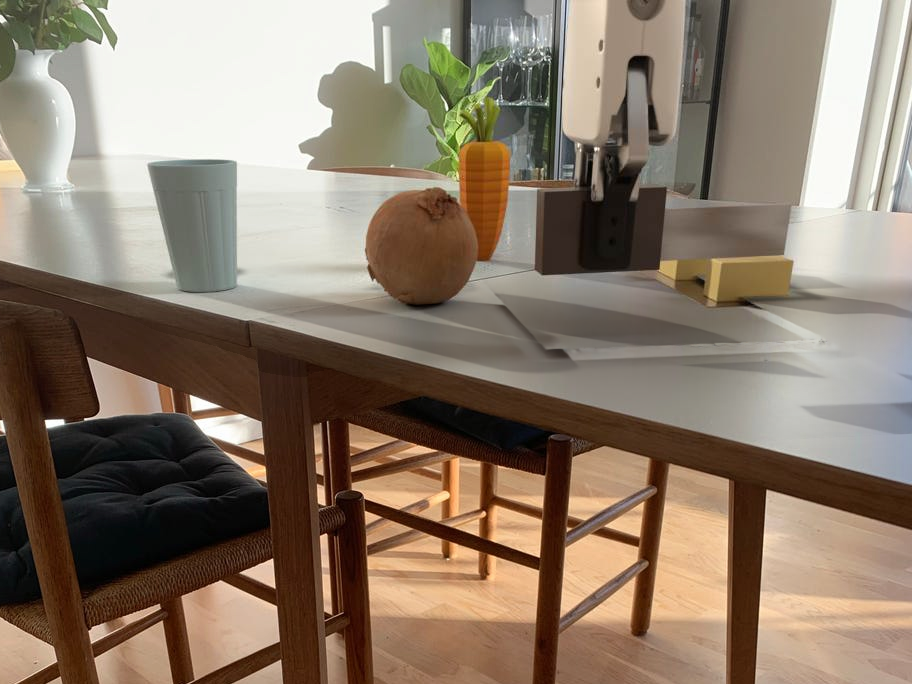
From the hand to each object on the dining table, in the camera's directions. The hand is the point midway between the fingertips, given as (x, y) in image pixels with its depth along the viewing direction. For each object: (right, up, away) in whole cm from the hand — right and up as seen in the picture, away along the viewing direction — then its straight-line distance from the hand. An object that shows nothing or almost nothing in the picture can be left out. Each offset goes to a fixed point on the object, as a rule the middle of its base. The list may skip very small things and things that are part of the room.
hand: (598, 262), depth 63 cm
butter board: (+14, +5, +20) cm, 25 cm away
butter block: (+13, +8, +24) cm, 29 cm away
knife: (+4, 0, +1) cm, 4 cm away
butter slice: (+15, +3, +15) cm, 21 cm away
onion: (-12, +4, +18) cm, 22 cm away
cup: (-32, +8, +25) cm, 41 cm away
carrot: (-6, +12, +33) cm, 36 cm away
